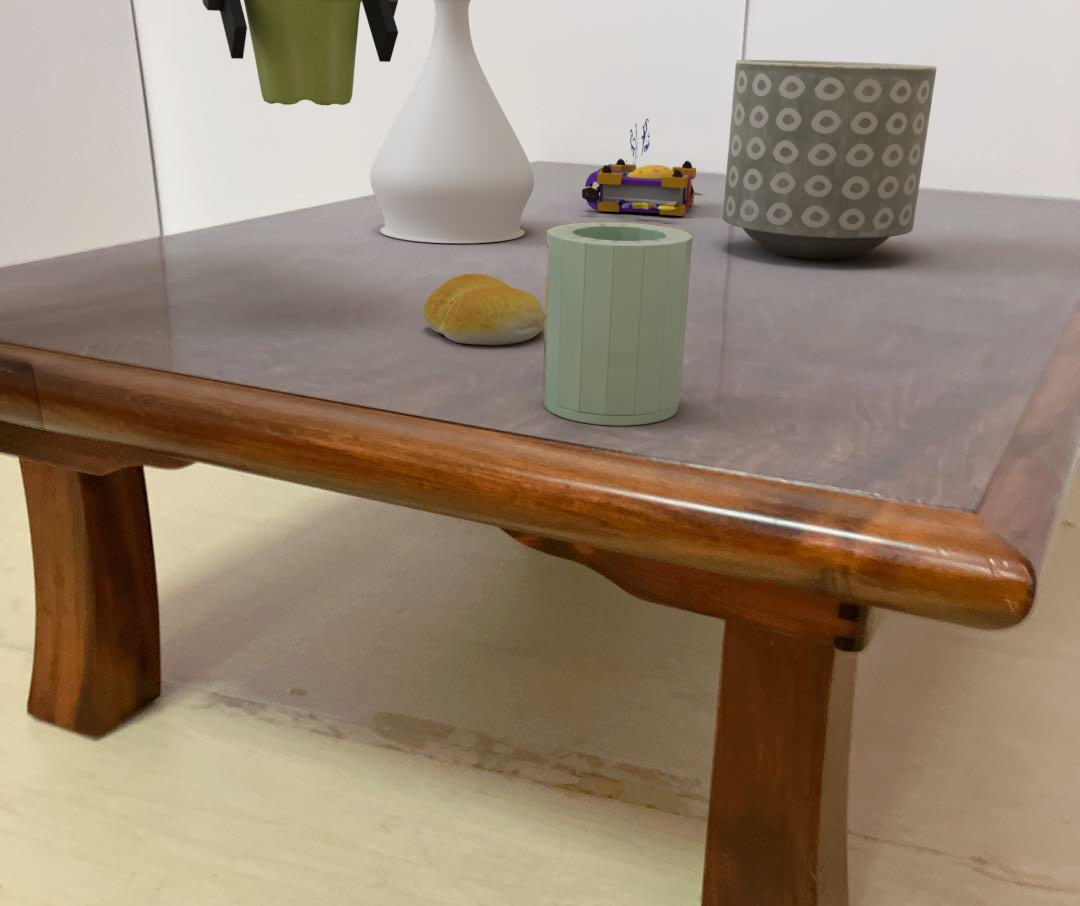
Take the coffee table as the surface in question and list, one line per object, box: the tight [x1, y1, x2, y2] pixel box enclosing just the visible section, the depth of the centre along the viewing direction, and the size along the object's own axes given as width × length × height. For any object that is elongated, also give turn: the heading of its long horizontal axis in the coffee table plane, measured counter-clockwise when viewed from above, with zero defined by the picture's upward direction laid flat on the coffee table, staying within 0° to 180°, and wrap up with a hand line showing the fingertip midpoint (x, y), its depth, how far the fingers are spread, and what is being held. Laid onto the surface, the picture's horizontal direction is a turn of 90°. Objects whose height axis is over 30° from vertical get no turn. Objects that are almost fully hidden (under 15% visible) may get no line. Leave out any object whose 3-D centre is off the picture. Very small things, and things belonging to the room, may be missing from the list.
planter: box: [722, 59, 938, 261], centre depth 118 cm, size 19×19×18 cm
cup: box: [542, 221, 693, 427], centre depth 68 cm, size 8×8×10 cm
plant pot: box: [243, 0, 362, 106], centre depth 81 cm, size 9×9×9 cm
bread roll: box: [422, 273, 545, 346], centre depth 85 cm, size 8×9×4 cm
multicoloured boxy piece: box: [581, 118, 703, 217], centre depth 147 cm, size 15×25×12 cm, turn 167°
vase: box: [369, 0, 535, 244], centre depth 123 cm, size 17×17×25 cm
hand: (316, 45), depth 78 cm, fingers closed on plant pot, 9 cm apart
